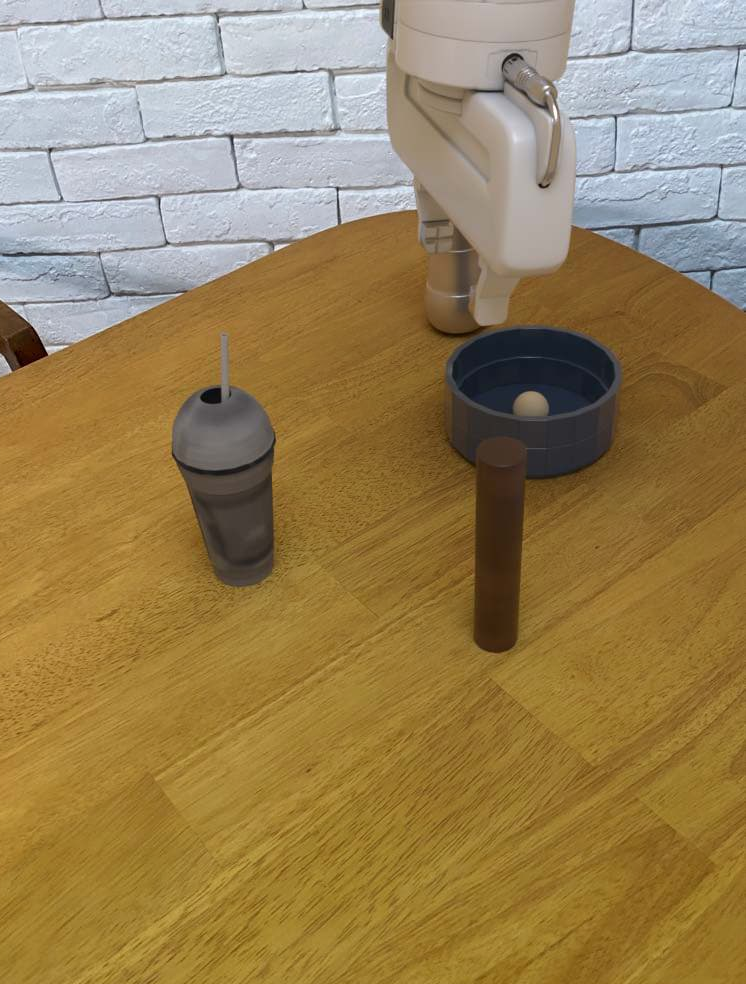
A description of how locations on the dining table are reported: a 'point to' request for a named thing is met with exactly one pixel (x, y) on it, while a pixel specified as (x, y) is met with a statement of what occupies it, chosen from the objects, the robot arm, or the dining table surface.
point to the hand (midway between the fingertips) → (459, 282)
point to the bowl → (539, 368)
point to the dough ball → (531, 405)
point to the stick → (498, 541)
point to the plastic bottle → (452, 286)
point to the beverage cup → (229, 476)
